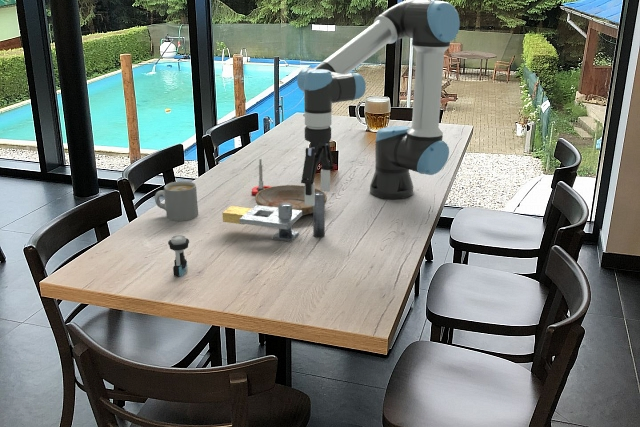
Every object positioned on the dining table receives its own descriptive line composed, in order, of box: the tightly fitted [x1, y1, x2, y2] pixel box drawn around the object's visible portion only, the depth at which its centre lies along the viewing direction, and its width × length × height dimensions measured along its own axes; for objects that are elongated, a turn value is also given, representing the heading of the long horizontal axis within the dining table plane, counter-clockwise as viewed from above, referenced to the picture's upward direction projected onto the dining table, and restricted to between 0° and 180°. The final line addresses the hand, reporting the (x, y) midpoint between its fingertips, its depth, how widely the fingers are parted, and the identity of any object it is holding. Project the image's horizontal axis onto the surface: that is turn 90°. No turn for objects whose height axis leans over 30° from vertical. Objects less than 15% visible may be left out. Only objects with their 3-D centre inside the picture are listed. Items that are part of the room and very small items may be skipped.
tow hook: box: [251, 158, 273, 196], centre depth 241 cm, size 8×13×9 cm
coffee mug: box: [154, 180, 199, 222], centre depth 220 cm, size 13×10×10 cm
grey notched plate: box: [222, 203, 303, 243], centre depth 205 cm, size 22×12×10 cm, turn 71°
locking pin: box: [312, 191, 326, 238], centre depth 202 cm, size 3×3×13 cm
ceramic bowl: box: [254, 184, 328, 216], centre depth 225 cm, size 23×24×5 cm
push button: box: [167, 234, 190, 277], centre depth 180 cm, size 7×5×10 cm
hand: (317, 197), depth 200 cm, fingers open, 13 cm apart
